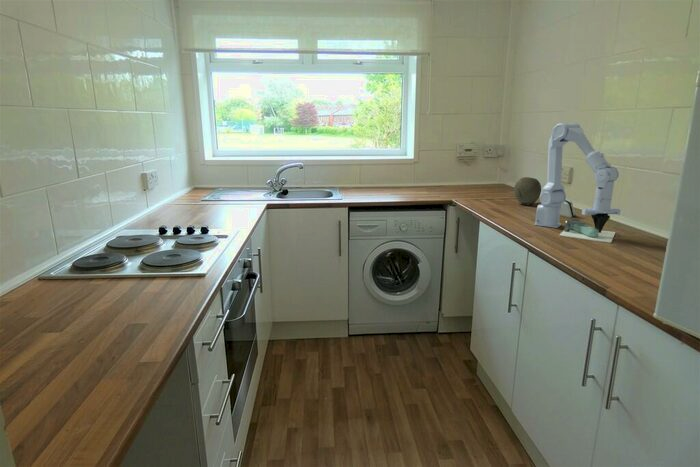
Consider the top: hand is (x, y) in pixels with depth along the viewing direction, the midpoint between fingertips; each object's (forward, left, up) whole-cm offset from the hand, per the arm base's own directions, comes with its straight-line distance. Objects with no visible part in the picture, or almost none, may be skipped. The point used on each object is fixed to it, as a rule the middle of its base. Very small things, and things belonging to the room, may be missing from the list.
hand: (598, 232), depth 169 cm
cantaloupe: (-41, +55, -2) cm, 68 cm away
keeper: (-9, +2, -1) cm, 9 cm away
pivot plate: (-4, +2, -2) cm, 5 cm away
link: (-6, +3, -1) cm, 7 cm away
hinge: (-22, +38, -2) cm, 44 cm away
